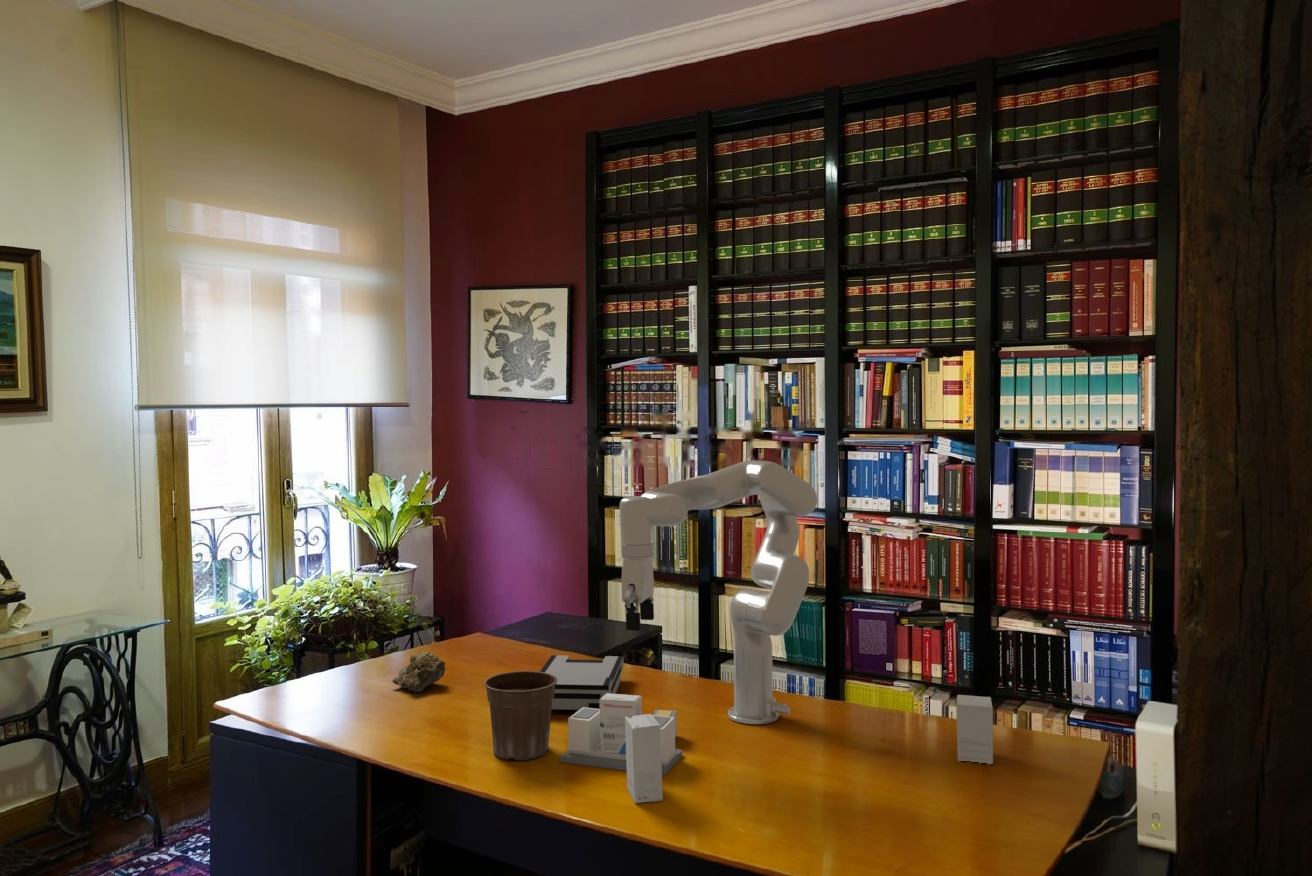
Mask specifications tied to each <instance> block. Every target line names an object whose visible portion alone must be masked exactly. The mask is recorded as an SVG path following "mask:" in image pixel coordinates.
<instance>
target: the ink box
mask: <svg viewBox="0 0 1312 876" xmlns="http://www.w3.org/2000/svg"><path fill="white" fill-rule="evenodd" d="M642 703H643V702H642V695H635V694H622V693H620V694H619V693H616V694H610V693H606V694H605V695H604V696H603V697H602V698H601V699H600V700H599V704H600V744H601V752H609V753H622V754H626V735H625V717H629V716H637V715H643V712H642V711H643V710H642Z"/></svg>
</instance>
